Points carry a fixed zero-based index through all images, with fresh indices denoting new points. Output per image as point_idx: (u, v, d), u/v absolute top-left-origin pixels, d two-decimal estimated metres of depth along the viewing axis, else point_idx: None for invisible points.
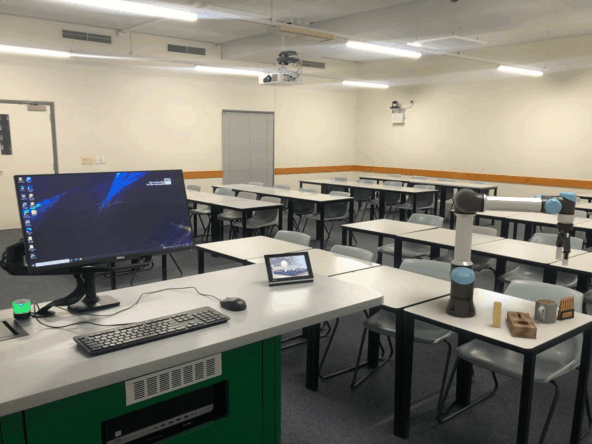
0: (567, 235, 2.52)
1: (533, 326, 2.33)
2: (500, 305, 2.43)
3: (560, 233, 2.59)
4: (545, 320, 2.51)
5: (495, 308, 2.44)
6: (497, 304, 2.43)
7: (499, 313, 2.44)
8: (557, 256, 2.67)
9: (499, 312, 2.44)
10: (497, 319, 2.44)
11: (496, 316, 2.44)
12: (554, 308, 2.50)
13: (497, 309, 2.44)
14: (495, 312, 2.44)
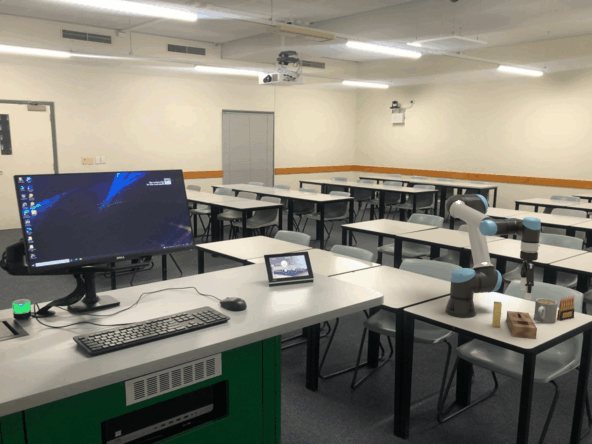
0: (530, 266, 2.26)
1: (533, 326, 2.33)
2: (500, 305, 2.43)
3: (524, 263, 2.34)
4: (545, 320, 2.51)
5: (495, 308, 2.44)
6: (497, 304, 2.43)
7: (499, 313, 2.44)
8: (521, 287, 2.41)
9: (499, 312, 2.44)
10: (497, 319, 2.44)
11: (496, 316, 2.44)
12: (554, 308, 2.50)
13: (497, 309, 2.44)
14: (495, 312, 2.44)
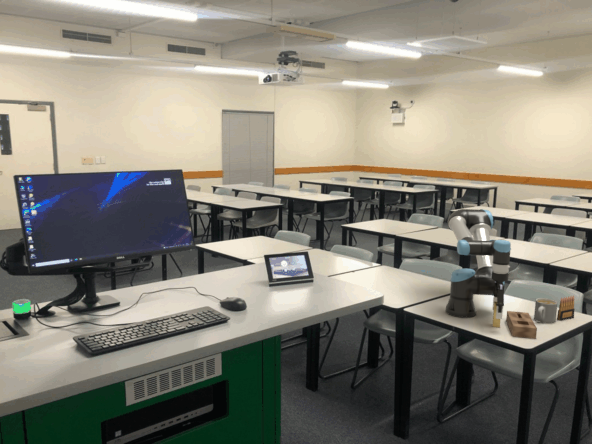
0: (501, 287, 2.37)
1: (533, 326, 2.33)
2: None
3: (495, 283, 2.44)
4: (545, 320, 2.51)
5: (495, 308, 2.44)
6: None
7: None
8: None
9: None
10: (497, 319, 2.44)
11: None
12: (554, 308, 2.50)
13: None
14: (495, 312, 2.44)
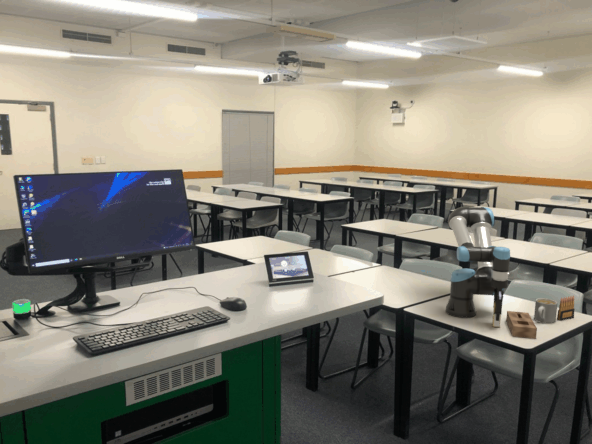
0: (499, 298, 2.38)
1: (533, 326, 2.33)
2: None
3: (495, 289, 2.45)
4: (545, 320, 2.51)
5: None
6: None
7: None
8: None
9: None
10: None
11: None
12: (554, 308, 2.50)
13: None
14: None
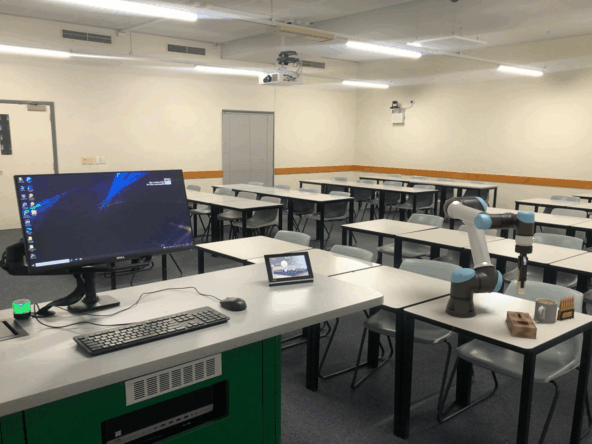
0: (524, 263, 2.28)
1: (533, 326, 2.33)
2: None
3: (519, 256, 2.35)
4: (545, 320, 2.51)
5: (519, 275, 2.34)
6: None
7: None
8: None
9: None
10: None
11: None
12: (554, 308, 2.50)
13: None
14: None
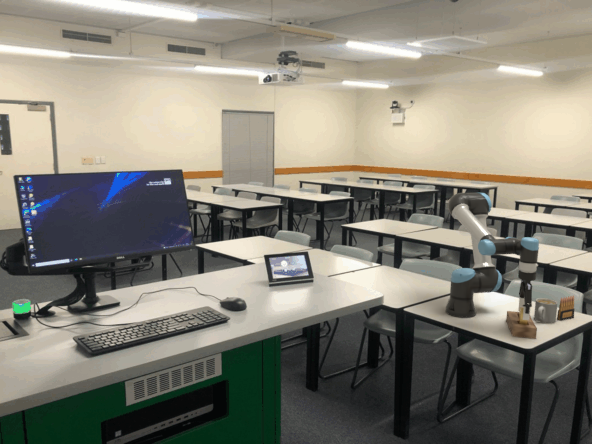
0: (528, 287, 2.28)
1: (533, 326, 2.33)
2: None
3: (522, 282, 2.35)
4: (545, 320, 2.51)
5: (521, 314, 2.35)
6: None
7: None
8: None
9: None
10: None
11: (522, 322, 2.36)
12: (554, 308, 2.50)
13: None
14: (521, 318, 2.36)
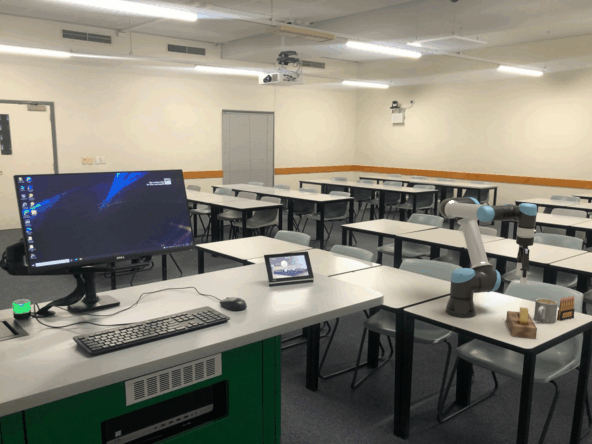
0: (526, 251, 2.30)
1: (533, 326, 2.33)
2: (527, 311, 2.35)
3: (520, 248, 2.38)
4: (545, 320, 2.51)
5: (521, 314, 2.35)
6: (523, 310, 2.35)
7: (525, 319, 2.35)
8: (517, 272, 2.46)
9: (525, 318, 2.35)
10: None
11: (522, 322, 2.36)
12: (554, 308, 2.50)
13: (523, 315, 2.35)
14: (521, 318, 2.36)
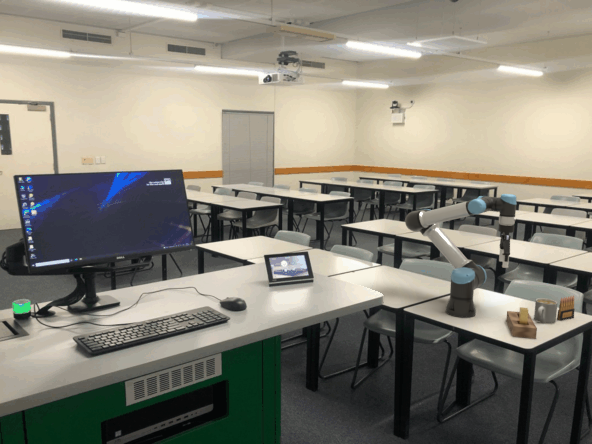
0: (507, 237, 2.51)
1: (533, 326, 2.33)
2: (527, 311, 2.35)
3: (502, 235, 2.59)
4: (545, 320, 2.51)
5: (521, 314, 2.35)
6: (523, 310, 2.35)
7: (525, 319, 2.35)
8: (500, 258, 2.66)
9: (525, 318, 2.35)
10: None
11: (522, 322, 2.36)
12: (554, 308, 2.50)
13: (523, 315, 2.35)
14: (521, 318, 2.36)
